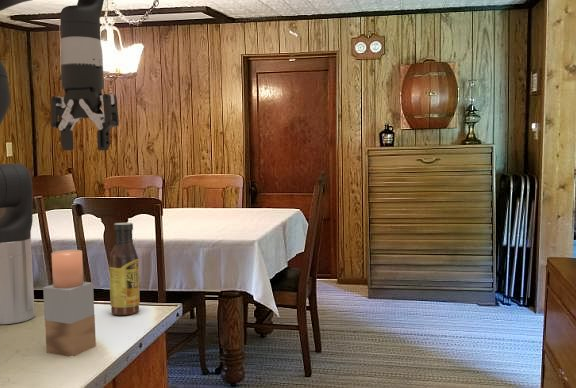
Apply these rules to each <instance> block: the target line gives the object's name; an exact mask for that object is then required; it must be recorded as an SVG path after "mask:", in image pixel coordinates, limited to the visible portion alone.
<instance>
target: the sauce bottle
mask: <svg viewBox="0 0 576 388" xmlns="http://www.w3.org/2000/svg"><path fill="white" fill-rule="evenodd" d="M133 230H134V225H133V223H132V222H115V223H114V224H113V231H114V243H115V244H114V246H113V248H112V250H111V252H110V254H109V293H110V294H109V297H110V301H109V302H110V308H111V309H110V311H111V312H110V313H112V315H114V316H127V315H133V314H136V313H138V312H139V309H140V302H141V301H140V259H139V255H138V253H137V250H136V247H135V245H134V240H133Z"/></svg>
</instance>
